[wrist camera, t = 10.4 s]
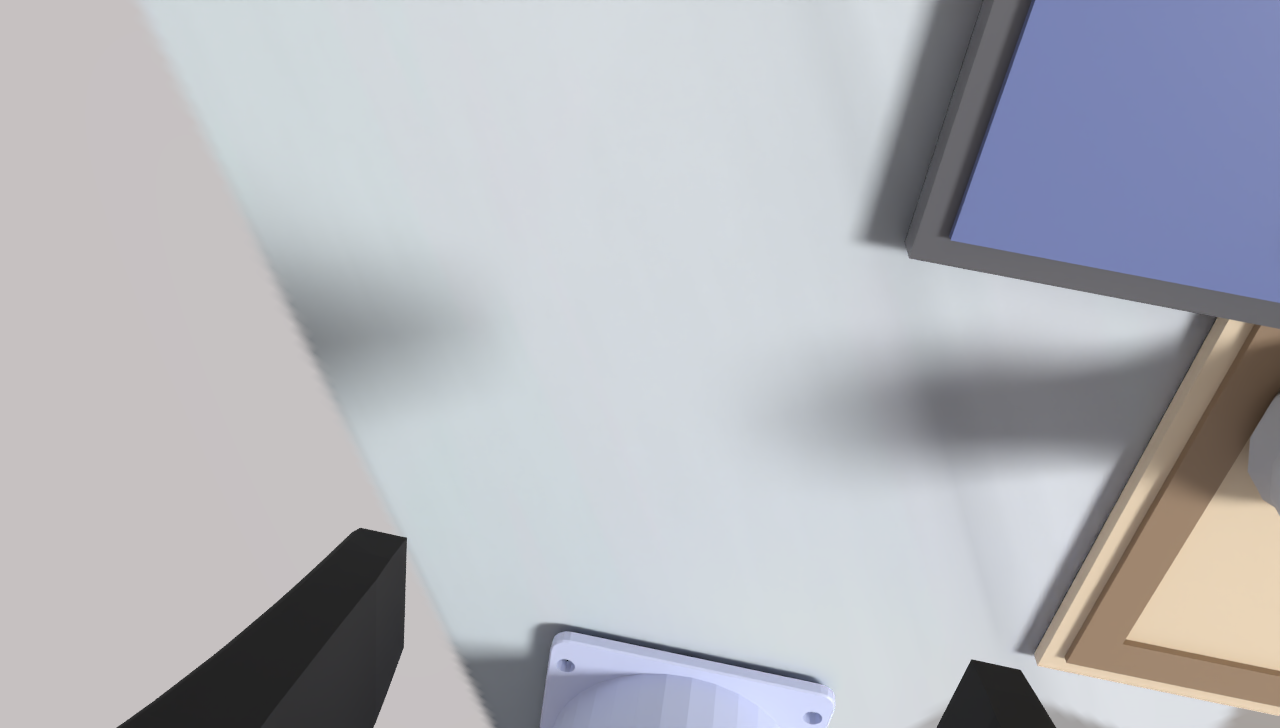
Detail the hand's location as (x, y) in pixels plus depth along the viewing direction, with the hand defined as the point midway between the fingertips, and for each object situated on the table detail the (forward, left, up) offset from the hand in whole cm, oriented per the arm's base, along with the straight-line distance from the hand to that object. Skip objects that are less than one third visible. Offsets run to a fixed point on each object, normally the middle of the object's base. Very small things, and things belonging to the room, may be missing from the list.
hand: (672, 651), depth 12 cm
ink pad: (+6, -7, -10) cm, 14 cm away
